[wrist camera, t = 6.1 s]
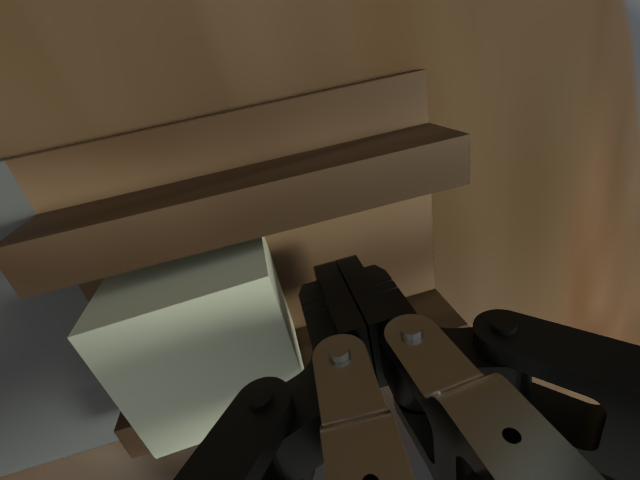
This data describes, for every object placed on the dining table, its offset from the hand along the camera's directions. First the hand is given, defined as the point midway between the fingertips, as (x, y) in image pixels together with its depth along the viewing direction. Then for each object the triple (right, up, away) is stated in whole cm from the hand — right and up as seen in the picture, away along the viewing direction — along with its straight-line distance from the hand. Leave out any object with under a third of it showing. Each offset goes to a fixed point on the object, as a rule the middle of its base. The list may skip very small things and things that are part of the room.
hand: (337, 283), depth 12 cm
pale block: (-5, -1, +1) cm, 5 cm away
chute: (-2, 0, +2) cm, 3 cm away
